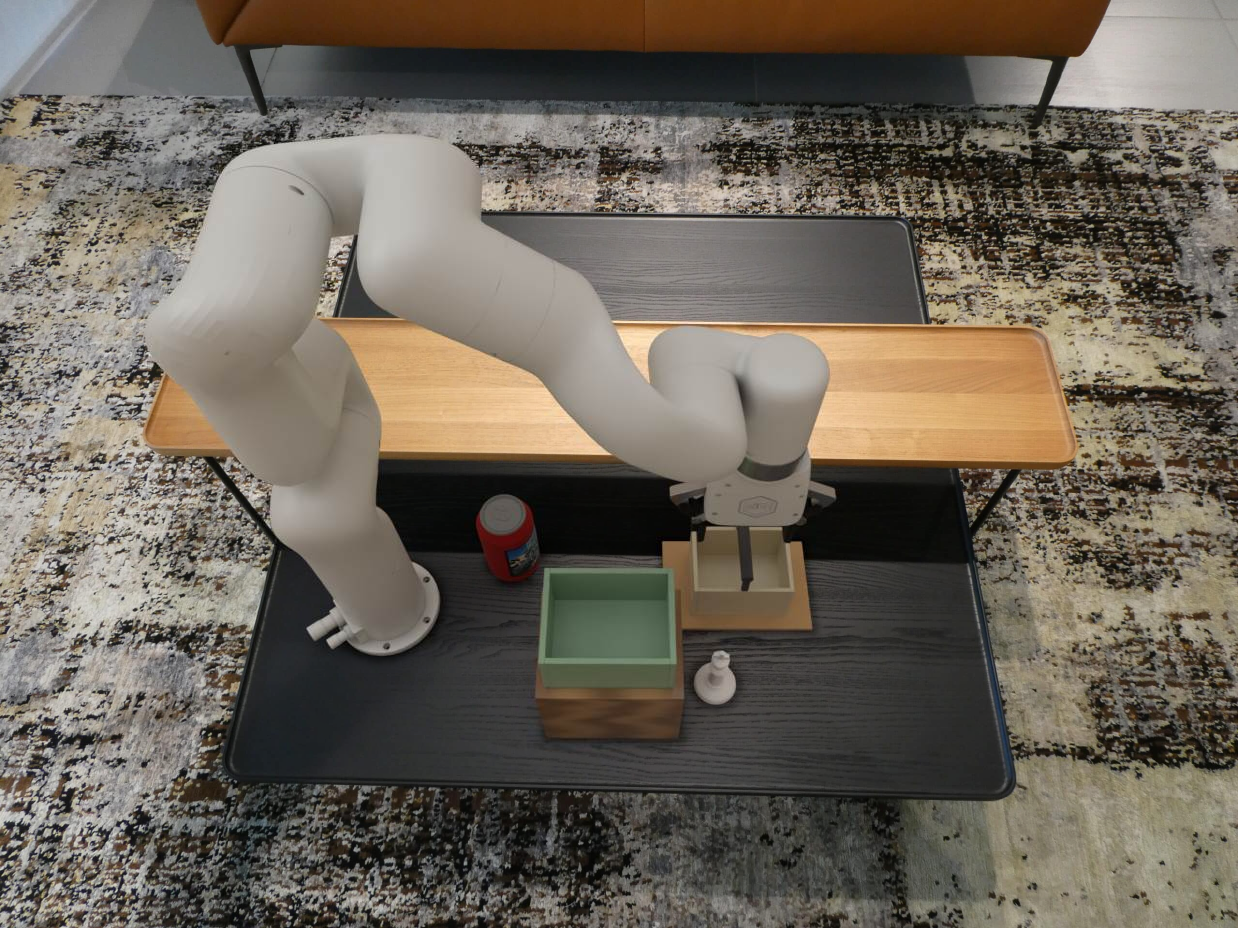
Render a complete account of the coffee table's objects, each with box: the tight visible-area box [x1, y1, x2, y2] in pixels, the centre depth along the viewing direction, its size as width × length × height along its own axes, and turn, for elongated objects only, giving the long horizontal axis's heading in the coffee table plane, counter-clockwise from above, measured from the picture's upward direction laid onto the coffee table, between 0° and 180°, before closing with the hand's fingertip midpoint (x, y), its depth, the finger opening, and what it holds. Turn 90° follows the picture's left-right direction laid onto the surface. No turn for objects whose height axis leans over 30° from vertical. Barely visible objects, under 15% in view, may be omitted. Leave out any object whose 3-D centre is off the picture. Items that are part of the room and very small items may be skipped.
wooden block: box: [534, 588, 685, 740], centre depth 93 cm, size 15×12×14 cm
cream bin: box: [689, 525, 795, 616], centre depth 101 cm, size 12×9×11 cm
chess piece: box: [693, 650, 737, 705], centre depth 95 cm, size 5×5×10 cm
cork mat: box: [661, 540, 813, 632], centre depth 106 cm, size 18×12×1 cm, turn 89°
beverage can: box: [475, 494, 541, 582], centre depth 103 cm, size 7×7×12 cm
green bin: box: [538, 567, 677, 689], centre depth 84 cm, size 13×10×7 cm
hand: (742, 531), depth 94 cm, fingers open, 9 cm apart
